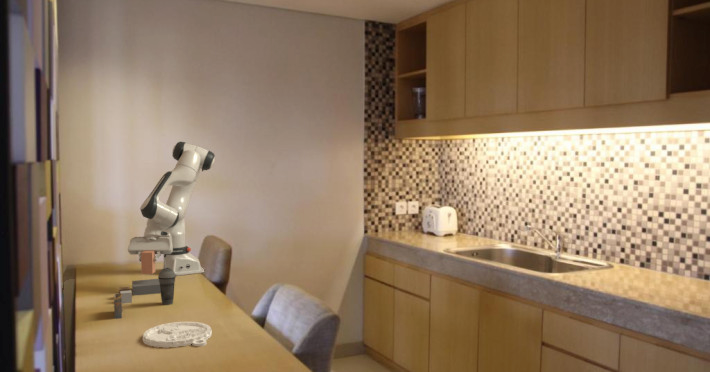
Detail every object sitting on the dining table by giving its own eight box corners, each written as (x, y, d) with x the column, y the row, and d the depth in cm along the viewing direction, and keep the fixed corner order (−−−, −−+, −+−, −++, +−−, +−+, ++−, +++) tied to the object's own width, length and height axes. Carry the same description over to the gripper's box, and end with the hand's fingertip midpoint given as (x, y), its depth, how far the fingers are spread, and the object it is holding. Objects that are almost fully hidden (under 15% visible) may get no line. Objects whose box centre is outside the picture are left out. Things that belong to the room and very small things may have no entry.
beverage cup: (170, 306, 241) (169, 259, 240) (155, 305, 243) (154, 259, 242) (179, 301, 248) (178, 256, 247) (164, 300, 250) (163, 255, 249)
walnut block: (130, 296, 258) (129, 286, 258) (130, 298, 254) (130, 288, 254) (119, 297, 256) (119, 287, 256) (119, 299, 252) (119, 289, 252)
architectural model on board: (122, 319, 224) (122, 294, 224) (114, 319, 223) (113, 295, 223) (123, 311, 235) (122, 288, 234) (115, 312, 234) (114, 289, 233)
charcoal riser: (161, 286, 276) (160, 278, 276) (162, 292, 264) (162, 284, 264) (132, 289, 271) (132, 280, 271) (133, 295, 259) (132, 286, 259)
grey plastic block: (131, 300, 251) (131, 290, 251) (131, 302, 247) (131, 292, 247) (120, 301, 250) (120, 291, 249) (120, 303, 246) (120, 293, 245)
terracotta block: (144, 271, 270) (144, 250, 269) (155, 271, 270) (155, 250, 269) (141, 273, 265) (141, 252, 264) (152, 273, 265) (152, 252, 264)
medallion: (187, 323, 218) (186, 317, 218) (231, 338, 201) (231, 331, 201) (129, 339, 200) (129, 332, 200) (173, 356, 183) (173, 349, 183)
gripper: (129, 233, 272) (123, 257, 263) (173, 232, 274) (168, 256, 265) (132, 240, 277) (126, 264, 268) (175, 240, 279) (171, 264, 269)
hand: (147, 260), depth 266 cm, fingers closed on terracotta block, 5 cm apart
